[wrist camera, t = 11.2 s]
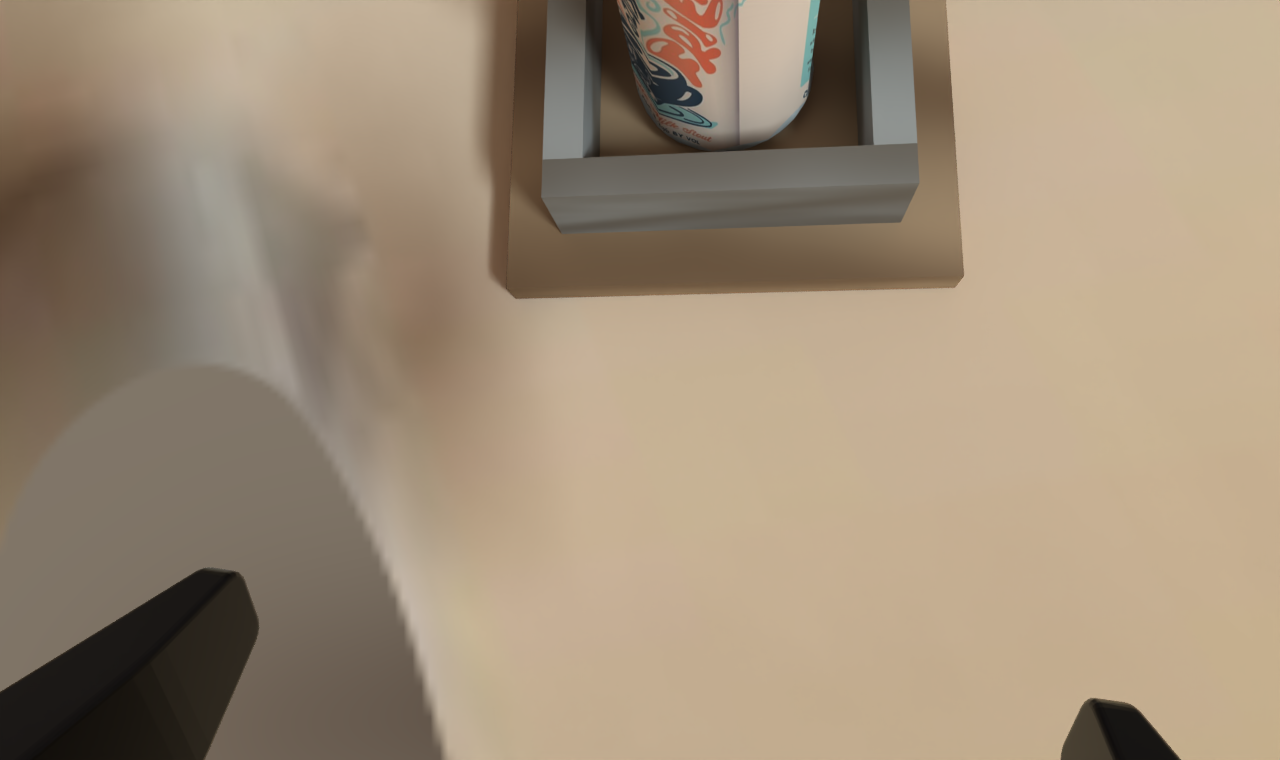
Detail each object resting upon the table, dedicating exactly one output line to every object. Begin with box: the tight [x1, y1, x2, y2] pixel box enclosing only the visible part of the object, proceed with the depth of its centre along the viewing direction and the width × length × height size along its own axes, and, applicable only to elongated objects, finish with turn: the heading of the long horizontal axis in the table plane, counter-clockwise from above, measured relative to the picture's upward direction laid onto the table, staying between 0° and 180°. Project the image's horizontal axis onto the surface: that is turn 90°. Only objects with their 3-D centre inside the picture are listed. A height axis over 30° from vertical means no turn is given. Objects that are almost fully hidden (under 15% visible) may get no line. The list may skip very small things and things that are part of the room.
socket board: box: [506, 0, 964, 299], centre depth 23 cm, size 12×12×4 cm
